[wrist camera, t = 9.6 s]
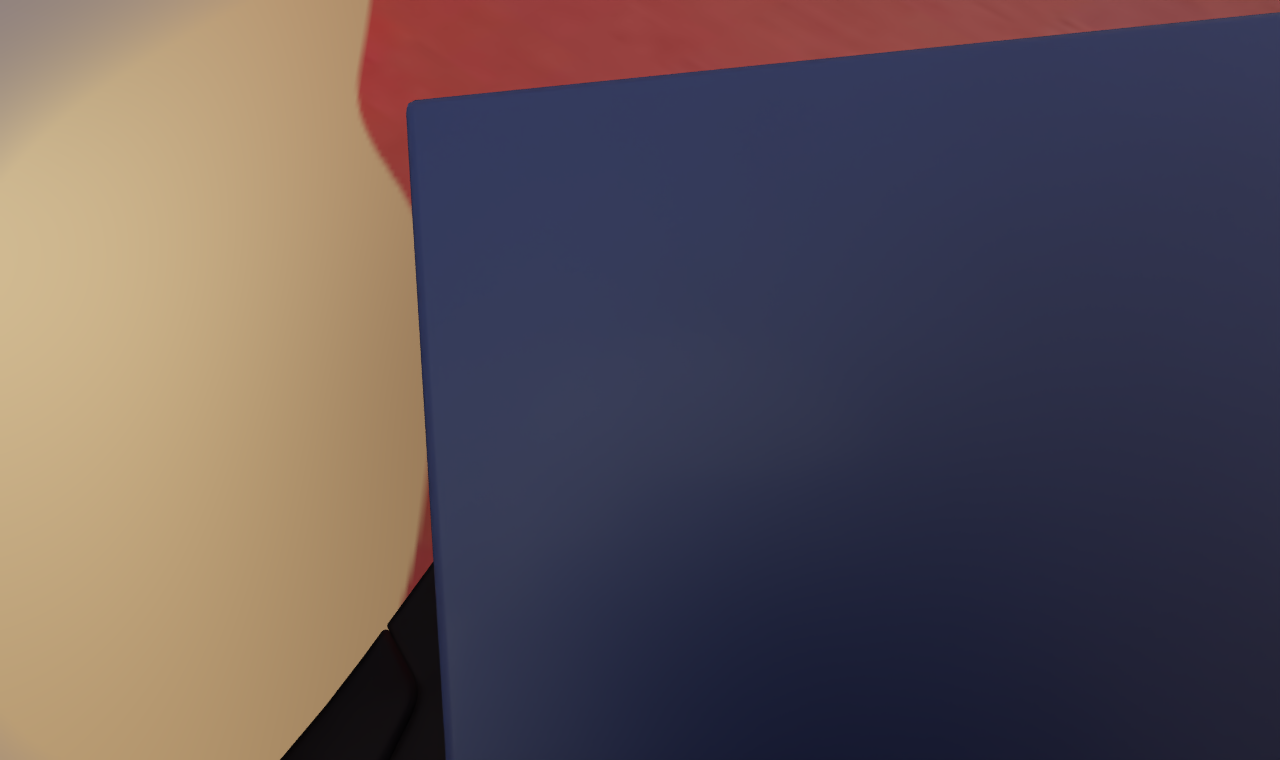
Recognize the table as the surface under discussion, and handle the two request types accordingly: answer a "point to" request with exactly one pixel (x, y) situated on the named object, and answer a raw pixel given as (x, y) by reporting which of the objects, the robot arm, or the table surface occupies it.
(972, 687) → the navy carton
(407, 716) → the robot arm
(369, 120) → the table surface
